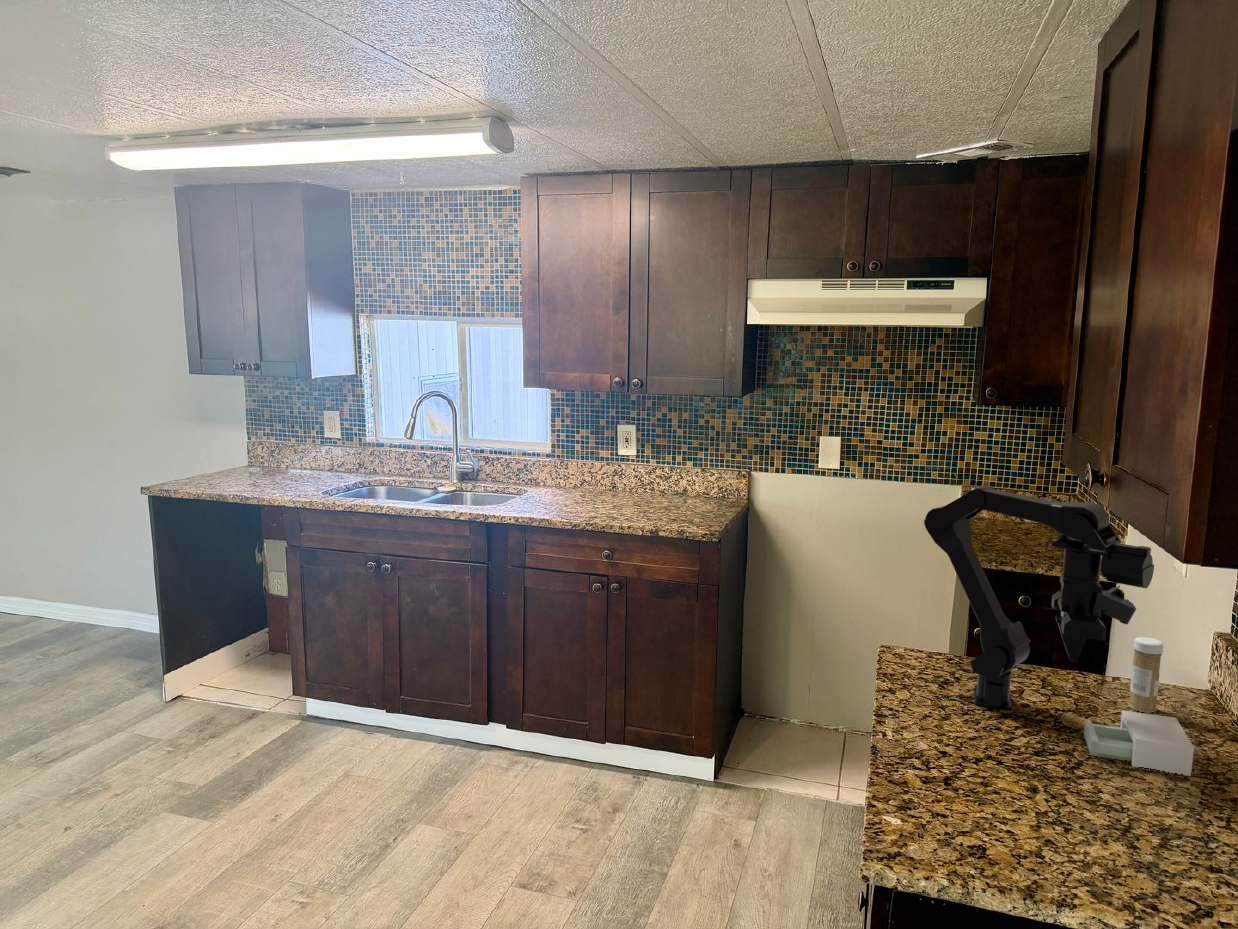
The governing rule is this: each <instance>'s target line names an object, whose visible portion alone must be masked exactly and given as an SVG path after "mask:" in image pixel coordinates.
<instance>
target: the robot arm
mask: <svg viewBox="0 0 1238 929" xmlns="http://www.w3.org/2000/svg"><path fill="white" fill-rule="evenodd" d="M982 511H987V512H991V513H994V514H995V513H996V514H999V515H1000V514H1001V515H1005V516H1009V517H1013V518H1018V519H1021V520H1026V521H1031V522H1034V523H1039V524H1042V525H1044V526H1047V527H1049V528H1050V529H1053V530H1054V531H1055V532H1056V533H1059V534H1062V535H1061V536H1060V537H1059V538H1058V539H1057V540H1055V541H1053V542H1051V547H1054V548H1058V549H1064V551H1063V563H1062V576H1061V575H1060V576H1059V582H1060V586H1061V587H1060V590H1058V591H1056V592H1055V593H1053V594H1052V596H1051V608H1052V609H1053V610H1057V608H1058V607H1059V611H1060V615H1054V616H1055V617H1054V618H1055V620H1056V623H1057V627H1058V629H1059V632H1060V635H1061V639H1062V641H1063V642H1062V643H1063V644H1064V647H1065V650H1066V653H1067V656H1068V659H1069V661H1070V662H1071V663H1077V662H1078V660H1079V658H1080V655H1081V652H1082V650H1083V649H1084V646H1085V643H1086V641H1087V640H1093V641H1095V640H1096V641H1105V640H1106V636H1107V628H1106V626H1105V624H1104V622H1103V621H1102V620H1100V618H1099V617H1102V614H1103V615H1105V616H1108V617H1110V618H1113V619H1115V620H1117V621H1118V622H1120V623H1121V624H1123V625H1129V623H1130V621H1131V619H1132V618H1133V615H1134V614H1135V612H1136V610H1137V608H1136V606H1135V605H1134V603H1133V602H1131V601H1130V599H1125V593H1124V591H1123V589H1120V588H1118V587H1116V586H1114V587H1112V588H1110V589H1108V590H1104V588H1103V587H1102V586H1101V584H1100V576H1101V574H1102V577H1103V578H1106V581H1107V582H1109V583H1116V584H1121V585H1125V586H1130V587H1136V588H1142V589H1148V588H1149V587H1150V584H1151V583H1152V579H1153V577H1154V570H1155V564H1154V562H1153V561H1154V560H1153V559H1154V558H1153V556H1152V554H1151V553H1152V552H1151V551H1152V549H1151V547H1150V546H1144V545H1138V546H1137V545H1130V544H1125V543H1122V540H1121V539H1120V537H1119V536H1118V534H1117V532H1116V531H1115V529H1114V528H1113V526H1112V525H1111V524H1110V517H1109V514H1108V512H1107V511H1106V509H1105V508H1104V506H1102V505H1100V504H1098V503H1096V502H1082V501H1081V502H1079V501H1051V500H1045V499H1042V498H1037V497H1033V496H1027V495H1022V494H1018V493H1013V492H1008V491H1004V490H1000V489H994V488H992V487H990V486H987V485H983V486H977V487H974V488H971V489H969V490H968V492H967V493H965V494H963V495H961V496H960V497H958V498H957V499H954V500H953V501H951V502H949V503H948V504H946V505H943V506H939V507H936V508H932V509H930V510H928V512H927V514H926V515H925V518H924V520H923V524H924V527H925V530H926V532H927V533H928V535H929V536H930V538H931V539H932V541H933V542H934V543H935V544H936V545H937V546H938V547H939V548H940V549H941V550H942V551H943V552H944V553H945V554H946V555H947V556H948V558H949V560H950V562H951V564H952V567H953V568H954V571H955V573H956V575H957V578H958V580H959V582H960V584H961V587H962V588H963V590H964V593H965V595H966V597H967V600H968V602H969V604H970V606H971V608H972V610H973V612H974V614H975V617H976V619H977V621H978V623H979V628H980V629H979V632H980V638H979V639H980V644H981V649H982V652H983V653H981V654H980V655H978V656H977V657H974V658H973V659H972V660H971V661H970V662H969V663H970V666H971V671H972V673H973V674H977V682H976V689H974V690H973V703H974V705H977V706H982V707H989V708H995V709H996V708H997V709H1002V710H1008V711H1009V710H1010V711H1011V710H1013V703H1012V698H1011V695H1010V691H1011V681H1012V680H1011V679H1012V670H1014V669H1017V667H1018V666H1019V664H1021V663H1023V662H1025V661H1026V659H1028V658H1029V654H1030V652H1031V646H1030V644H1029V643H1030V642H1031V639H1030V638H1029V637H1028V635H1027V634H1026V632H1025V629H1024V626H1023V624H1022V621H1021V620H1020V621H1017V622H1014V623H1013V621H1012V620H1011V619H1009V617H1007V616H1006V615H1005V612H1004V611H1003V609H1002V607H1001V604H1000V602H999V600H998V597H997V596H996V594H995V591H994V589H993V587H992V585H991V583H990V580H989V579H988V577H987V574H986V573H985V570H984V569H983V566H982V564H981V562H980V559H979V558H978V556H977V554H976V551H975V549H974V546H973V535H972V533H973V531H972V530H973V529H972V526H971V523H970V520H972V519H974V518H975V517H976V516H978V515H979V514H980V513H981V512H982Z"/></svg>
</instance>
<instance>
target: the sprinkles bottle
mask: <svg viewBox="0 0 1238 929" xmlns="http://www.w3.org/2000/svg"><path fill="white" fill-rule="evenodd" d="M1133 652H1134V653H1133V660H1132V669H1131V677H1130V678H1131V679H1130V687H1129V688H1130V693H1129V702H1128V707H1129V708H1130V709H1132V710H1133V711H1134V712H1137V711H1139V712H1138V713H1141V712H1146V713H1145V714H1151V713H1150V712H1154V713H1156V712H1157V703H1158V702H1157V701H1158V700H1157V698H1158V693H1159V686H1160V685H1159V684H1160V671H1161V670H1160V668H1161V659H1162V658H1161V657H1162V655H1163V652H1164V643H1163V642H1162V641H1161V640H1160V639H1156V638H1153V637H1146V636H1139V637H1138V636H1137V637H1135V638H1134V642H1133ZM1155 711H1156V712H1155Z"/></svg>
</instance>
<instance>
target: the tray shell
mask: <svg viewBox="0 0 1238 929" xmlns="http://www.w3.org/2000/svg"><path fill="white" fill-rule="evenodd" d="M1092 722H1093V721H1091V720H1084V724H1083V725H1084V726H1083V727H1084V728H1083V738H1084V739H1085V743H1086V745H1087V748H1088V751H1089V753H1090V756H1095V757H1100V758H1101V757H1102V758H1107V759H1113V760H1120V761H1125V760H1127V761H1126V762H1131V761H1132V754H1133V744H1134V743H1133V741H1132V738H1131V736H1130V734H1129V732H1128V730H1127V729H1125V728H1120V727H1116V726H1110V725H1103V724H1096V723H1092Z"/></svg>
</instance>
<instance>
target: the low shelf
mask: <svg viewBox="0 0 1238 929" xmlns="http://www.w3.org/2000/svg"><path fill="white" fill-rule="evenodd" d="M1120 719H1121V720H1120V727H1119V728H1125V729H1127V730H1128V732H1129V734H1130V736H1131V738H1132V741H1133V743H1134V744H1133V754H1132V762H1131V766H1132V767H1133V768H1138V767H1144V768H1149V769H1148V770H1150V768H1151V769H1156V770H1160V771H1159V772H1162V771H1165V772H1164V773H1168V772H1169V774H1175V773H1177V774H1176V775H1181V774H1183V775H1182V776H1187V777H1191V775H1192V770H1193V760H1194V753H1195V752H1194V751H1195V747H1194V745H1193V744H1192V742H1191V740H1190V738H1189V737H1188V735H1187V734H1186V732H1185V730H1184V729H1183V727H1182V725H1181V724H1180V722H1179V720H1178V718H1177V717H1172V716H1171V717H1170V716H1166V715H1164V716H1163V715H1158V714H1153V713H1141V712H1137V711H1129V710H1121V717H1120ZM1144 768H1143V769H1144ZM1156 770H1155V771H1156Z"/></svg>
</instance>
